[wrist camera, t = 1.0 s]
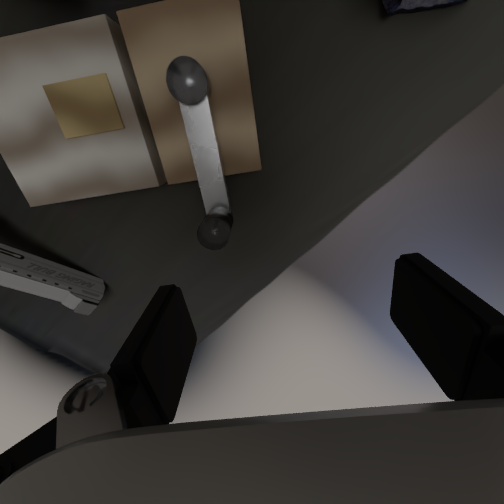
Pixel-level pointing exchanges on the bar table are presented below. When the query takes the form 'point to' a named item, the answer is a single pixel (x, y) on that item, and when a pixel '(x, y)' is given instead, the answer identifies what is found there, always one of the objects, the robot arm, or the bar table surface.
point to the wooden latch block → (121, 100)
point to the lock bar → (202, 147)
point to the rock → (415, 5)
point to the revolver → (50, 280)
